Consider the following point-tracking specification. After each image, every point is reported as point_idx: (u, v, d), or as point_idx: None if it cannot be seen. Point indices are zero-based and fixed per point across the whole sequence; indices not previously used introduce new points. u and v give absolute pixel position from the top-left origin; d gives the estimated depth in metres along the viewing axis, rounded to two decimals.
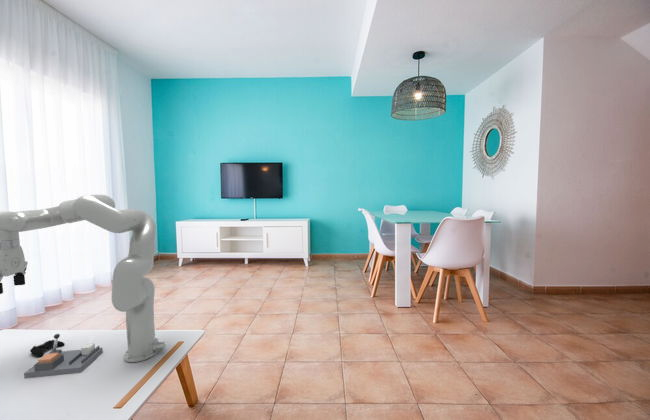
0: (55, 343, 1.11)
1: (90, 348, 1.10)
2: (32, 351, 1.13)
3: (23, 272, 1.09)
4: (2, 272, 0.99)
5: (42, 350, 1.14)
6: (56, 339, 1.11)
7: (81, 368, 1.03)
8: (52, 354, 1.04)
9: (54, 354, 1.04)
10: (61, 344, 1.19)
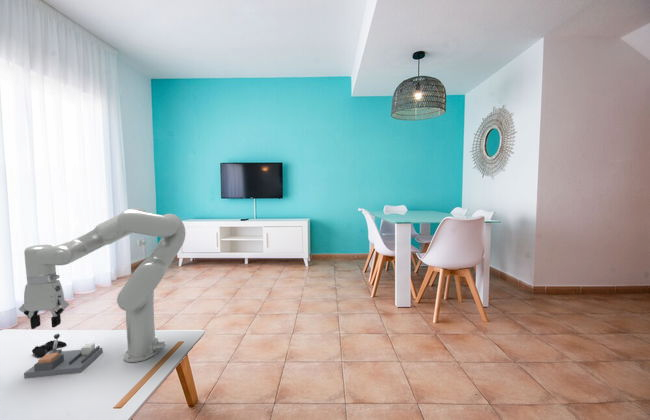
0: (55, 343, 1.11)
1: (90, 348, 1.10)
2: (34, 351, 1.13)
3: None
4: (64, 300, 1.04)
5: (44, 350, 1.13)
6: (56, 339, 1.11)
7: (81, 368, 1.03)
8: (52, 354, 1.04)
9: (54, 354, 1.04)
10: (63, 344, 1.19)
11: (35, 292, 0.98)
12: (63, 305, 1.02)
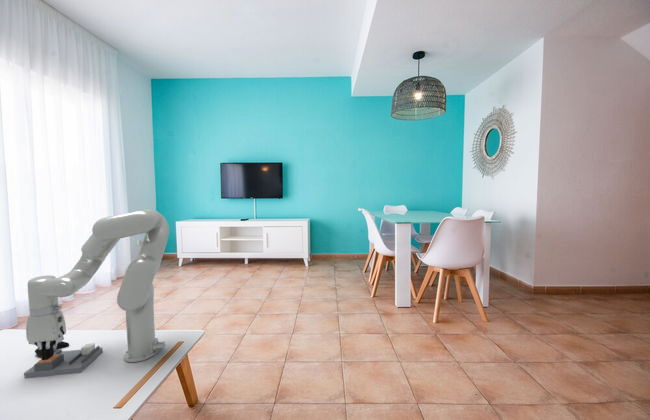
0: None
1: (90, 348, 1.10)
2: (37, 352, 1.12)
3: None
4: (65, 330, 1.05)
5: None
6: None
7: (81, 368, 1.03)
8: None
9: (54, 355, 1.04)
10: (66, 344, 1.19)
11: (37, 324, 0.99)
12: (58, 339, 1.02)
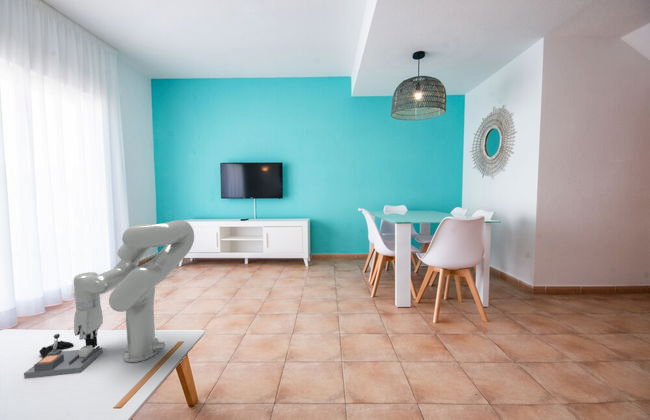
0: (55, 343, 1.11)
1: (88, 350, 1.09)
2: (41, 352, 1.12)
3: None
4: None
5: None
6: (56, 339, 1.11)
7: (81, 368, 1.03)
8: (52, 357, 1.04)
9: (54, 357, 1.04)
10: (70, 345, 1.19)
11: (95, 313, 1.12)
12: None
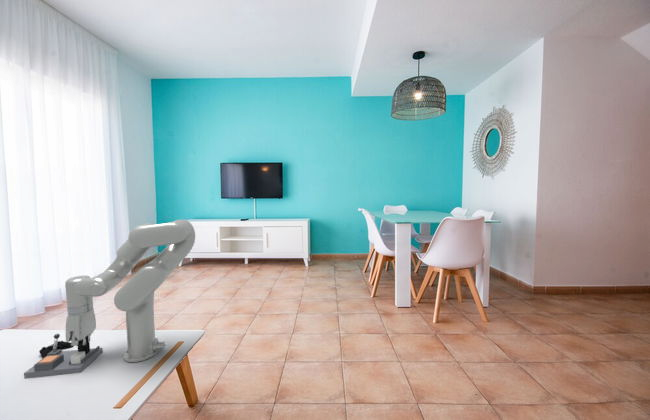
0: (55, 343, 1.11)
1: (80, 357, 1.04)
2: (41, 352, 1.12)
3: None
4: None
5: None
6: (56, 339, 1.11)
7: (81, 368, 1.03)
8: (52, 357, 1.04)
9: (54, 357, 1.04)
10: (70, 345, 1.19)
11: (87, 318, 1.07)
12: None
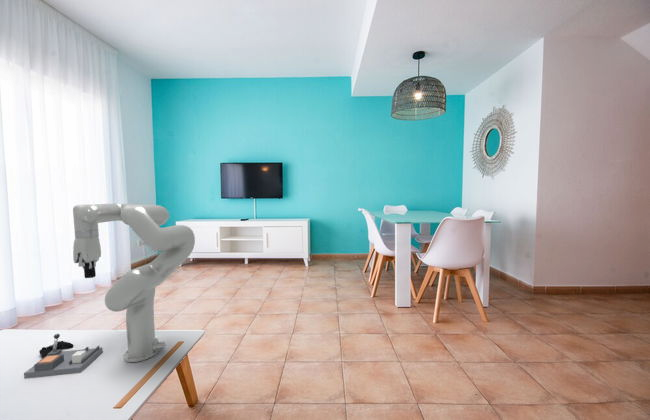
0: (55, 343, 1.11)
1: (81, 356, 1.05)
2: (41, 352, 1.12)
3: None
4: None
5: None
6: (56, 339, 1.11)
7: (81, 368, 1.03)
8: (52, 357, 1.04)
9: (54, 357, 1.04)
10: (70, 345, 1.18)
11: (93, 244, 1.15)
12: None
